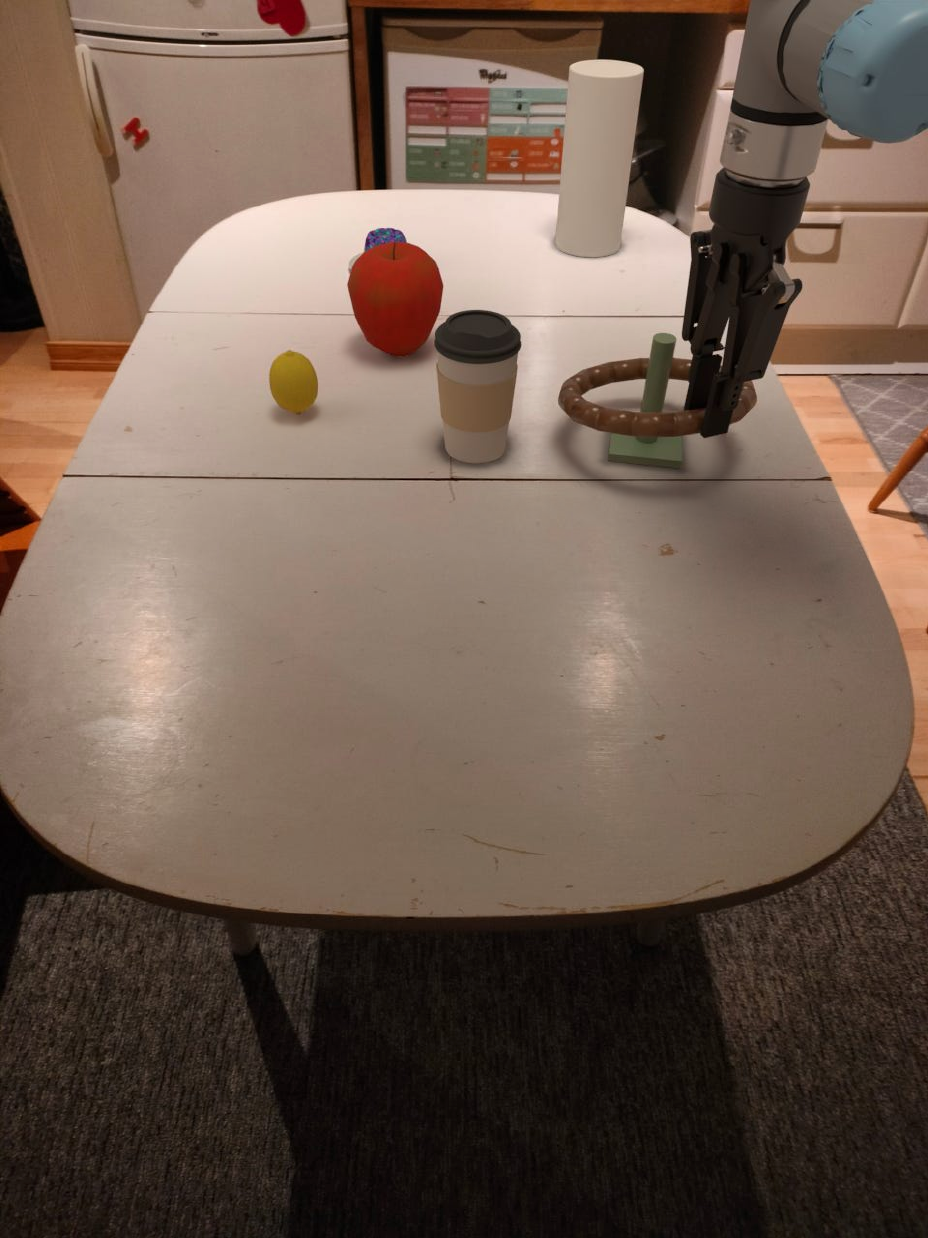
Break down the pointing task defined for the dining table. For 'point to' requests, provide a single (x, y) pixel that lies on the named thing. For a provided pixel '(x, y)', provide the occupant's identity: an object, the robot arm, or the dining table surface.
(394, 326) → the apple
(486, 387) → the coffee cup
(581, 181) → the tall pillar cylinder
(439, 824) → the dining table surface
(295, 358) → the lemon
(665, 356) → the post
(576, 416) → the ring
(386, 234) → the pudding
